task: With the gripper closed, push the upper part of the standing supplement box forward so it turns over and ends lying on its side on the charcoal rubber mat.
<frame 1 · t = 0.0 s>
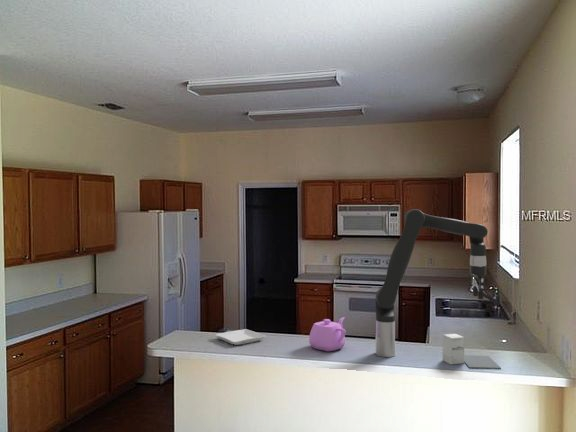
hand: (478, 297, 240), 29 cm above the counter, fingers open, 8 cm apart
teapot: (327, 348, 257), on the counter
charcoal mat: (479, 362, 232), on the counter
salad plate: (240, 341, 273), on the counter
supplement box: (453, 362, 233), on the counter
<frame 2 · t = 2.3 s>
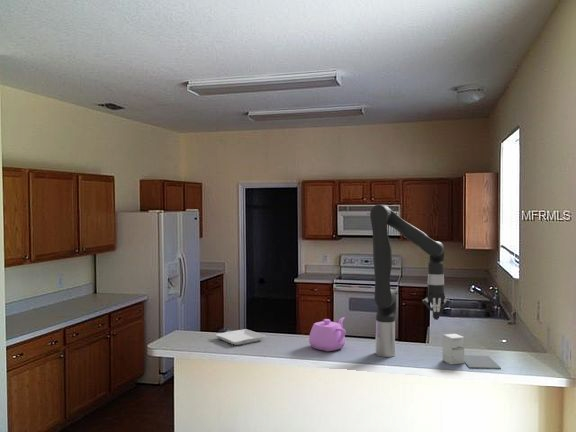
hand: (436, 319, 233), 20 cm above the counter, fingers closed
nothing on the counter moved.
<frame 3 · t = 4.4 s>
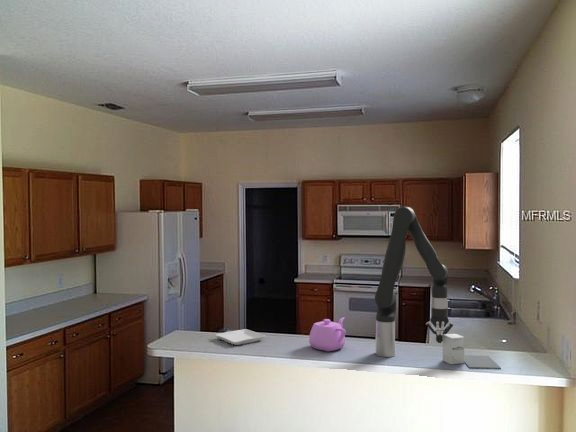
hand: (439, 342, 233), 9 cm above the counter, fingers closed
supplement box: (453, 362, 233), on the counter, touching gripper
everything else where it was.
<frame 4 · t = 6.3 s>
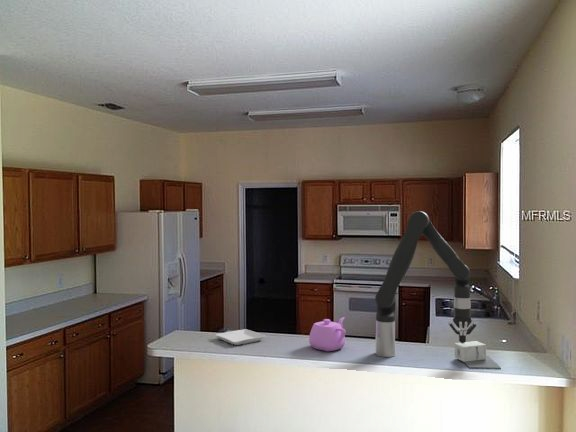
hand: (462, 342, 232), 9 cm above the counter, fingers closed
supplement box: (458, 352, 234), point 4 cm above the counter, touching charcoal mat
everything else where it was.
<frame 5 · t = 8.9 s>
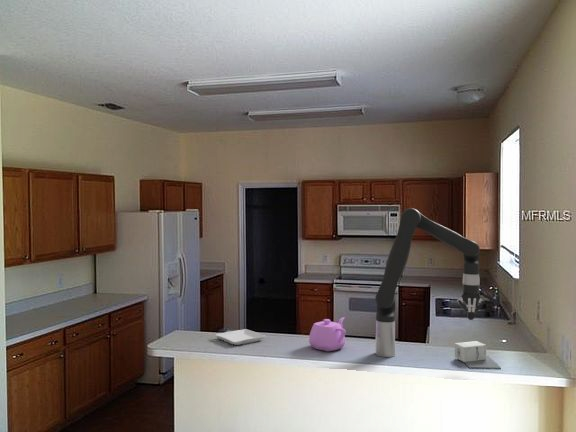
hand: (470, 319, 232), 20 cm above the counter, fingers closed
nothing on the counter moved.
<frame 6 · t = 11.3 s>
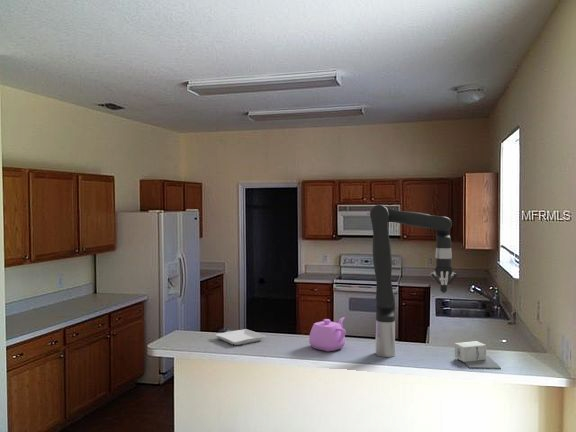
hand: (443, 292, 240), 32 cm above the counter, fingers closed
nothing on the counter moved.
at the end: supplement box tilted 89°; supplement box touching charcoal mat; the gripper is holding nothing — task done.
